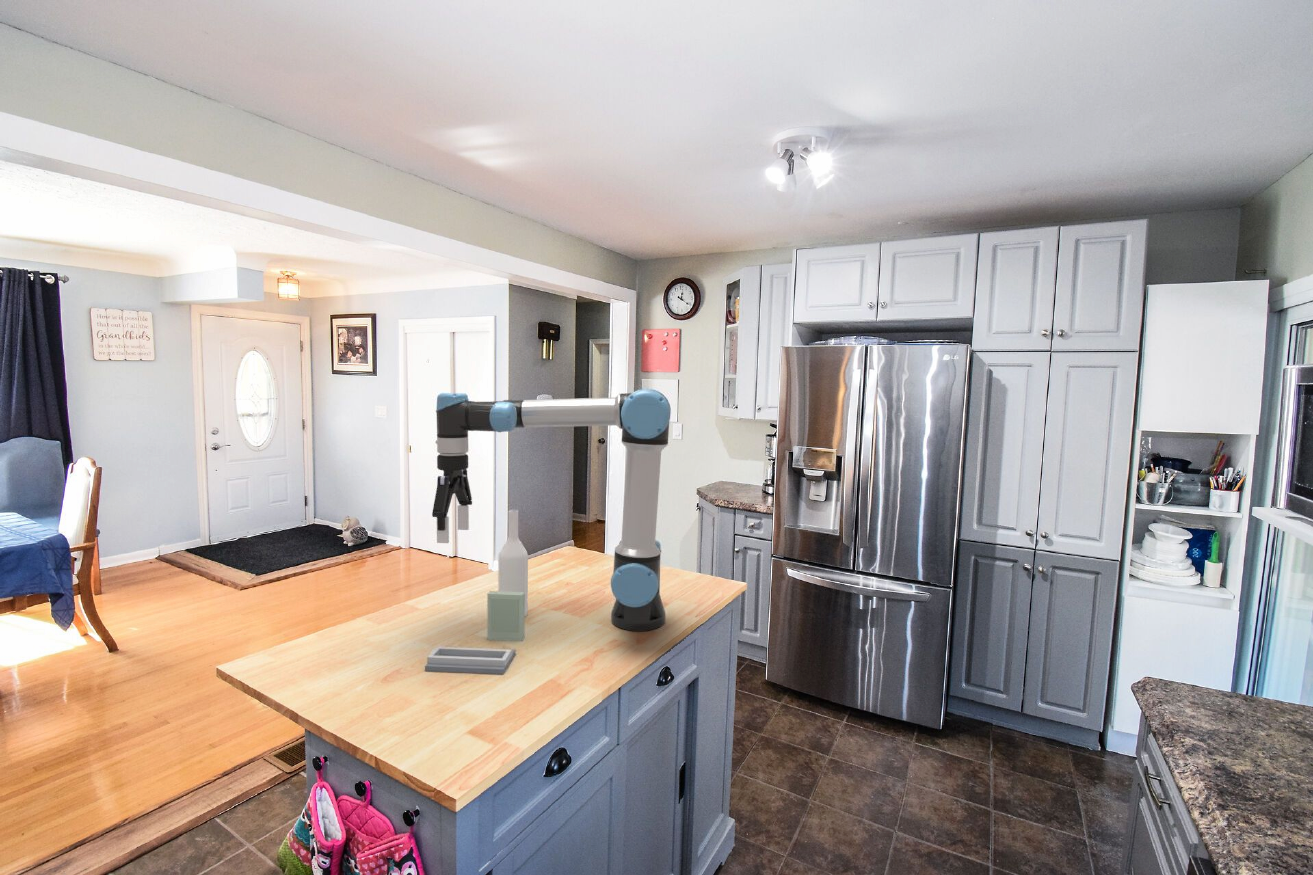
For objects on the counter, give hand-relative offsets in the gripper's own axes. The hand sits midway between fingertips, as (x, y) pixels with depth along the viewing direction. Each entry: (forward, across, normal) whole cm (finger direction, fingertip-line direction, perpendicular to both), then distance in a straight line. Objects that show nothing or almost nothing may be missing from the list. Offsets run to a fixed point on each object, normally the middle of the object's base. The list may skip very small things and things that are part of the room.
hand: (453, 535), depth 154 cm
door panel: (+26, +2, +14) cm, 30 cm away
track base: (+26, +16, +10) cm, 32 cm away
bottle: (+26, -14, +11) cm, 32 cm away
